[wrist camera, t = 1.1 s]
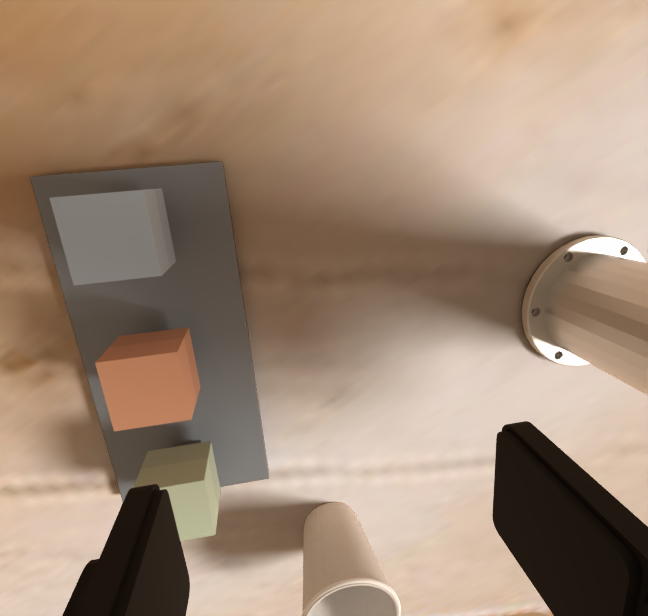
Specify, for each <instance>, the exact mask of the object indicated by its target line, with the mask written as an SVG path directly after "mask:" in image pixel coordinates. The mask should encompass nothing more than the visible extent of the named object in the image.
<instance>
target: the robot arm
mask: <svg viewBox="0 0 648 616" xmlns="http://www.w3.org/2000/svg"><path fill="white" fill-rule="evenodd" d="M522 324H523V328H524V332H525V335H526V337H527V339H528V341H529V343H530V344H531V346H532V347H533V348H534V349H535V350H536V351H537V352H538V353H539V354H541V355H542V356H544V357H545V358H547V359H549V360H550V361H552V362H554V363H557V364H561V365H565V366H580V365H587V364H592V365H594V366H595V367H597V368H599V369H601V370H603V371H605V372H606V373H608V374H610V375H612V376H614V377H615V378H617V379H619V380H621V381H623V382H625V383H626V384H628V385H630V386H632V387H634V388H635V389H637V390H639V391H641V392H643V393H645V394H646V395H648V263H647V262H645V260H644V258H643V257H642V255H641V254H640V252H639V251H638V250H637V249H636V248H635V247H633V246H632V245H631V244H630V243H628V242H626V241H624V240H622V239H618V238H614V237H609V236H600V235H594V236H586V237H582V238H579V239H576V240H573V241H571V242H569V243H567V244H565V245H563V246H561V247H560V248H559V249H557V250H556V251H555V252H553V253H552V254H551V255H550V256H549V257H548V258H547V259H546V260H545V261H544V262H543V263H542V264H541V265H540V266H539V268H538V269H537V271H536V272H535V274H534V275H533V277H532V279H531V281H530V283H529V285H528V287H527V289H526V293H525V296H524V300H523V306H522ZM493 522H494V525H495V528H496V530H497V532H498V534H499V535H500V537H501V538H502V540H503V541H504V542H505V544H506V545H507V547H508V548H509V550H510V551H511V553H512V554H513V556H514V557H515V559H516V560H517V562H518V563H519V565H520V566H521V568H522V569H523V570H524V572H525V573H526V575H527V576H528V578H529V579H530V581H531V582H532V584H533V585H534V587H535V588H536V590H537V591H538V593H539V594H540V595H541V597H542V598H543V600H544V601H545V603H546V604H547V606H548V607H549V609H550V610H551V612H552V613H553V615H554V616H648V527H647V526H646V525H645V524H644V523H643V522H642V521H640V520H639V519H638V518H637V517H636V516H635V515H634V514H633V513H631V512H630V511H629V510H628V509H627V508H626V507H625V506H624V505H622V504H621V503H620V502H619V501H618V500H617V499H616V498H615V497H613V496H612V495H611V494H610V493H609V492H608V491H607V490H606V489H604V488H603V487H602V486H601V485H600V484H599V483H598V482H597V481H595V480H594V479H593V478H592V477H591V476H590V475H589V474H588V473H586V472H585V471H584V470H583V469H582V468H581V467H580V466H579V465H578V464H576V463H575V462H574V461H573V460H572V459H571V458H570V457H569V456H567V455H566V454H565V453H564V452H563V451H562V450H561V449H560V448H558V447H557V446H556V445H555V444H554V443H553V442H552V441H551V440H549V439H548V438H547V437H546V436H545V435H544V434H543V433H542V432H540V431H539V430H538V429H537V428H536V427H535V426H534V425H533V424H531V423H530V422H526V421H525V422H519V423H513V424H507V425H505V426H504V427H503V428H502V432H499V433H498V434H497V442H496V462H495V481H494V500H493ZM189 590H190V582H189V574H188V570H187V566H186V562H185V558H184V554H183V550H182V546H181V542H180V538H179V534H178V530H177V526H176V521H175V517H174V513H173V509H172V505H171V501H170V497H169V493H168V491H167V489H163V490H160V488H159V486H158V485H157V484H152V485H146V486H141V487H135V488H131V489H129V491H128V493H127V495H126V497H125V499H124V502H123V504H122V507H121V509H120V511H119V514H118V516H117V518H116V521H115V523H114V525H113V528H112V530H111V532H110V535H109V537H108V540H107V542H106V544H105V547H104V549H103V551H102V554H101V556H100V558H99V559H96V560H91V561H90V562H89V563H88V564H87V565H86V566H85V568H84V570H83V572H82V574H81V576H80V578H79V580H78V582H77V585H76V587H75V589H74V591H73V593H72V596H71V598H70V600H69V602H68V604H67V607H66V609H65V611H64V613H63V616H186V610H187V604H188V599H189Z"/></svg>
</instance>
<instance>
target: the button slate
mask: <svg viewBox="0 0 648 616" xmlns="http://www.w3.org/2000/svg"><path fill="white" fill-rule="evenodd" d="M50 202H51V206H52V209H53V213H54V216H55V220H56V224H57V227H58V231H59V234H60V238H61V242H62V245H63V249H64V252H65V256H66V260H67V263H68V267H69V271H70V274H71V278H72V281H73V285H83V284H92V283H101V282H110V281H119V280H128V279H138V278H147V277H156V276H162V275H163V274H164V273H165V272H166V271H167V270H168V269H169V268H170V267H171V266H172V265H173V264H174V263H175V262H176V258H175V253H174V248H173V243H172V238H171V233H170V227H169V222H168V217H167V212H166V207H165V202H164V197H163V191H162V188H160V189H147V190H135V191H123V192H111V193H100V194H88V195H76V196H65V197H53V198H50Z"/></svg>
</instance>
